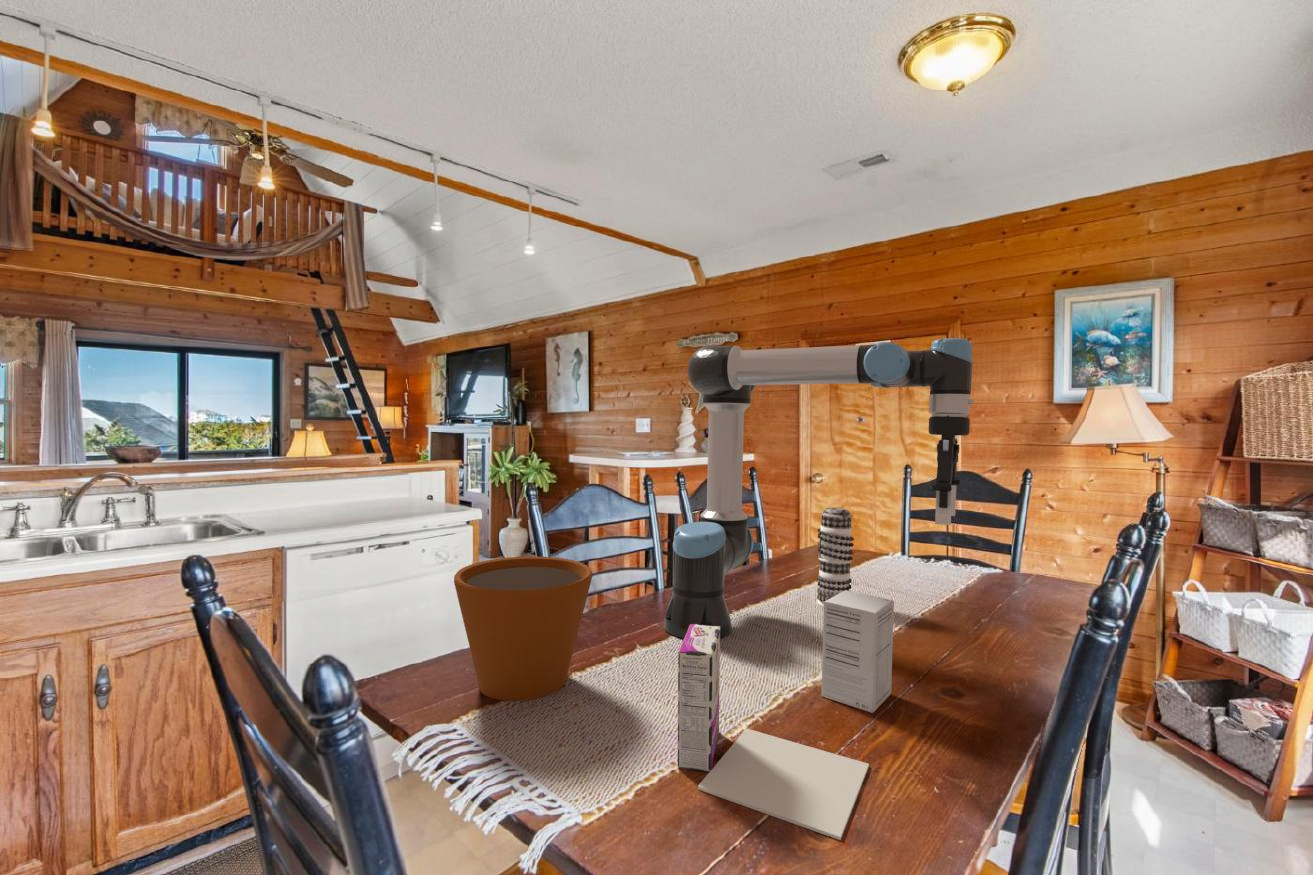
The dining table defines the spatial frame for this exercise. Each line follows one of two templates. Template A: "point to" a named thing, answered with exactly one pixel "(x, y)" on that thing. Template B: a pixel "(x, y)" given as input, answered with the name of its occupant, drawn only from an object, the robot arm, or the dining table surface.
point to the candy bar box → (698, 697)
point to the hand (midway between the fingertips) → (945, 519)
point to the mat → (788, 781)
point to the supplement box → (857, 649)
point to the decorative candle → (834, 553)
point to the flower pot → (522, 622)
